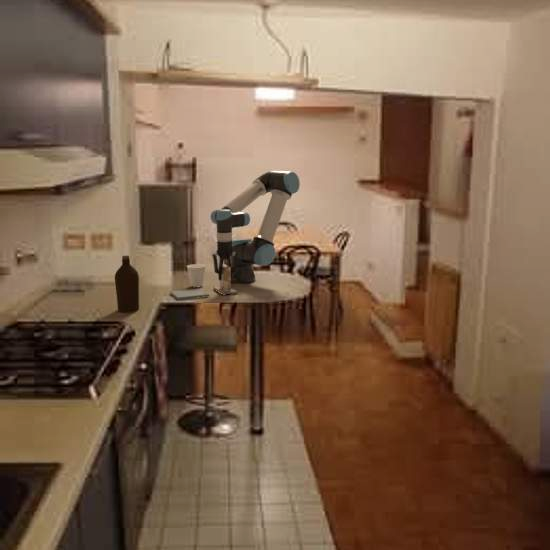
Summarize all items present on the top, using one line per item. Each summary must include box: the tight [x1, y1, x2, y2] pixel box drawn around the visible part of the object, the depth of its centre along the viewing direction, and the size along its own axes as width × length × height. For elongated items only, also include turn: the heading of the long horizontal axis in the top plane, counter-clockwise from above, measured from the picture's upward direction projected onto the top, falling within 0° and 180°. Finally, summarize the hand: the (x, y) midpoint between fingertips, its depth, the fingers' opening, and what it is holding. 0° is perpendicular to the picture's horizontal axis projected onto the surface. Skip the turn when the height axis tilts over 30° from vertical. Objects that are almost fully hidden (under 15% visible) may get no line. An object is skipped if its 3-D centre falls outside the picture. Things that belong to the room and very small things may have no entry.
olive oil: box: [114, 255, 140, 313], centre depth 280 cm, size 11×11×25 cm
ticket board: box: [169, 287, 210, 301], centre depth 309 cm, size 16×14×2 cm
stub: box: [213, 264, 238, 295], centre depth 315 cm, size 8×14×13 cm, turn 24°
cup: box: [186, 263, 206, 288], centre depth 327 cm, size 10×10×11 cm
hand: (225, 286), depth 315 cm, fingers closed on stub, 3 cm apart
